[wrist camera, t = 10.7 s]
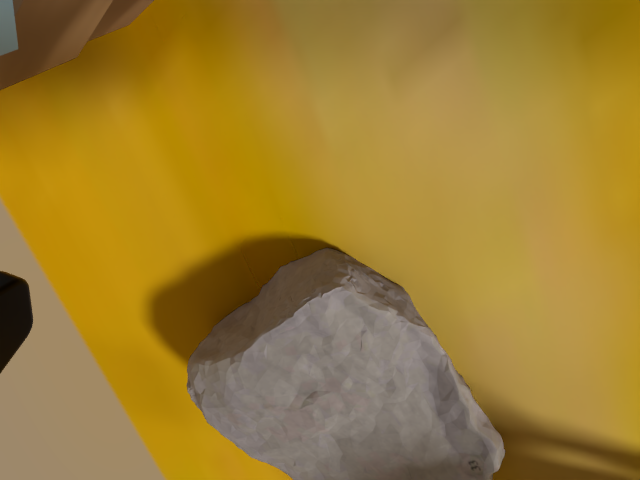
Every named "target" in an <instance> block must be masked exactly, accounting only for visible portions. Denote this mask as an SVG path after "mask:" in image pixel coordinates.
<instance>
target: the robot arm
mask: <svg viewBox="0 0 640 480" xmlns="http://www.w3.org/2000/svg"><path fill="white" fill-rule="evenodd" d="M32 324H33V315H32V307H31V299H30V292H29V285H28V283H27V282H26V281H25V280H24V279H22V278H20V277H17V276H15V275H12V274H9V273H7V272H3V271H0V373H1V372H2V370H3V369H4V368H5V366H6V365H7V364H8V362H9V361H10V359H11V358H12V357H13V355H14V354H15V353H16V351H17V350H18V349H19V347H20V346H21V344H22V343H23V342H24V340H25V339H26V338H27V336H28V334H29V333H30V330H31V328H32Z"/></svg>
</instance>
